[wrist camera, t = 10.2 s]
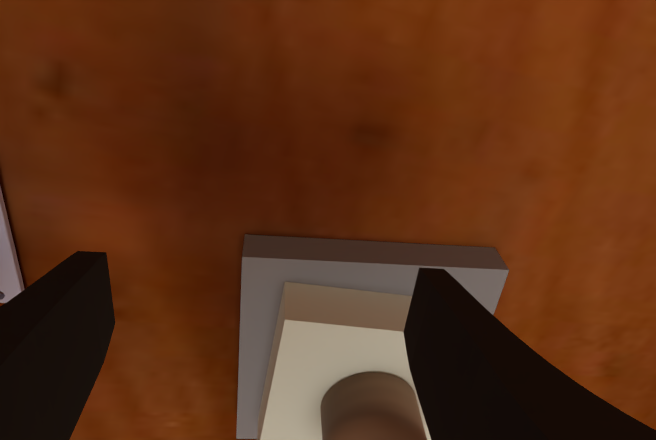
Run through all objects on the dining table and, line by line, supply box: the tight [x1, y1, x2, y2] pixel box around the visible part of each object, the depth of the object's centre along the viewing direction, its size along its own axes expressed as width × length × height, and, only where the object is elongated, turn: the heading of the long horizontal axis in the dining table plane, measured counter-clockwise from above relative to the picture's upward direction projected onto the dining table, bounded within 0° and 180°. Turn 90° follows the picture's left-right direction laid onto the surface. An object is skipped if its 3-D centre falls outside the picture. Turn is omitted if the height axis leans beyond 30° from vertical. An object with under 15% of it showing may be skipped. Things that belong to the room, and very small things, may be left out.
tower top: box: [257, 282, 431, 440], centre depth 24 cm, size 9×9×2 cm
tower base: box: [236, 234, 509, 439], centre depth 27 cm, size 12×12×2 cm
